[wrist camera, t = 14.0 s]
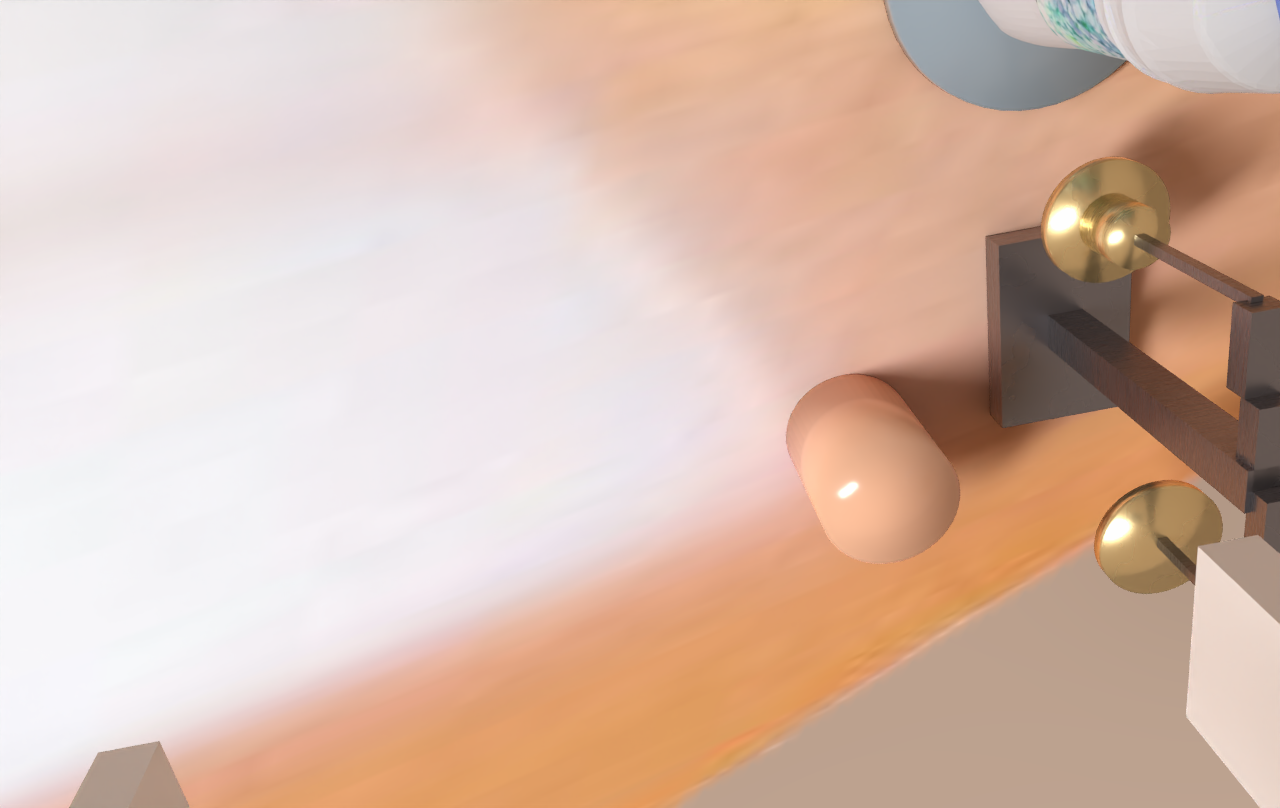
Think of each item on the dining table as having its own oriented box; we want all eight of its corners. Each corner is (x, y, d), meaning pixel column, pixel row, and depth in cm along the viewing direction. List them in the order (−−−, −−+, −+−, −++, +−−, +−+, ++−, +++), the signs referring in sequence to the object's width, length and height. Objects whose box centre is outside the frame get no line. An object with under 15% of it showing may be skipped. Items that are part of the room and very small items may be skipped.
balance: (983, 148, 46) (1227, 274, 30) (1118, 123, 46) (1436, 235, 30) (992, 485, 53) (1193, 737, 37) (1109, 463, 54) (1361, 705, 37)
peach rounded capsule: (779, 386, 50) (814, 454, 44) (904, 363, 50) (957, 428, 44) (792, 496, 53) (827, 575, 46) (911, 473, 53) (962, 549, 46)
